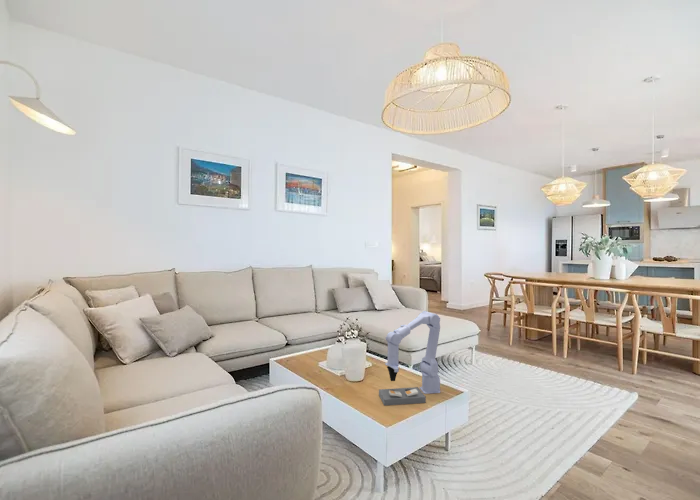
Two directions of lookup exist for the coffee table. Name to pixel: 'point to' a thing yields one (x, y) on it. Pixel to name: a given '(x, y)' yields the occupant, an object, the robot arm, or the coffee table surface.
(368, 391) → the coffee table surface
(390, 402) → the grey switch panel
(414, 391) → the rocker
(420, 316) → the robot arm
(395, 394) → the rocker
